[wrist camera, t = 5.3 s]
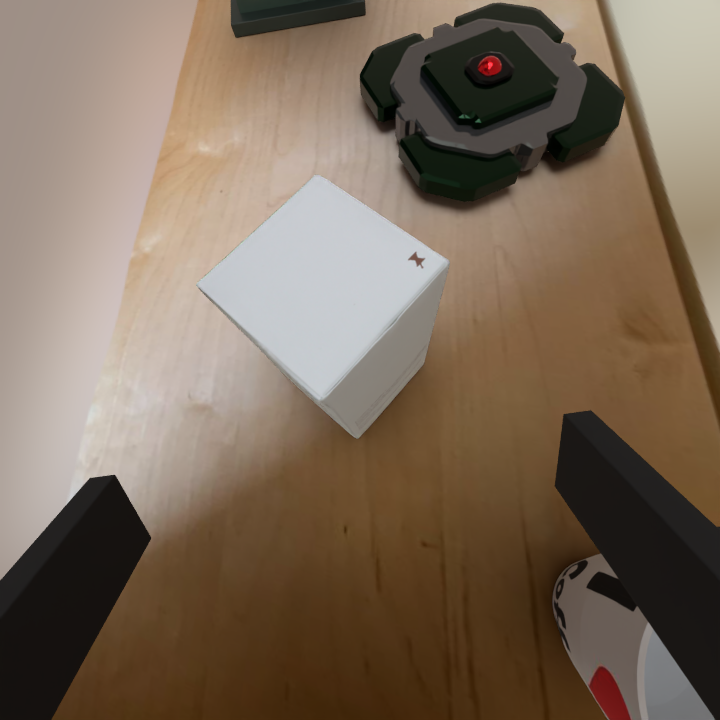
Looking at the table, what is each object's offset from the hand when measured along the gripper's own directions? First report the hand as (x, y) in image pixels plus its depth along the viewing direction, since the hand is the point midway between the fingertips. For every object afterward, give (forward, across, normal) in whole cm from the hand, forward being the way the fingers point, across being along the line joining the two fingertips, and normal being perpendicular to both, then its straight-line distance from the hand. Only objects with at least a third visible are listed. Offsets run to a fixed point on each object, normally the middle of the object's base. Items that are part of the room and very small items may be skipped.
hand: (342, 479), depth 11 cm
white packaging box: (+15, 0, +4) cm, 15 cm away
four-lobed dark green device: (+30, -14, -12) cm, 35 cm away
